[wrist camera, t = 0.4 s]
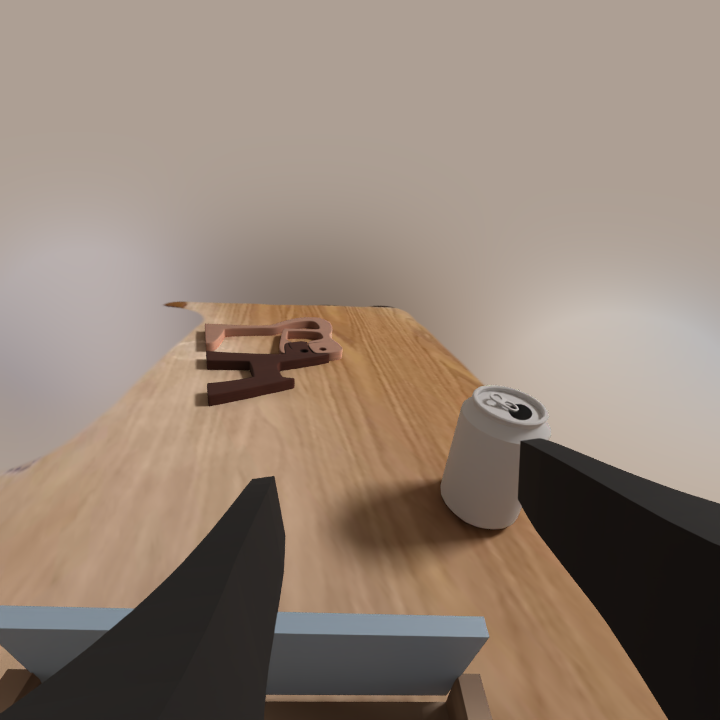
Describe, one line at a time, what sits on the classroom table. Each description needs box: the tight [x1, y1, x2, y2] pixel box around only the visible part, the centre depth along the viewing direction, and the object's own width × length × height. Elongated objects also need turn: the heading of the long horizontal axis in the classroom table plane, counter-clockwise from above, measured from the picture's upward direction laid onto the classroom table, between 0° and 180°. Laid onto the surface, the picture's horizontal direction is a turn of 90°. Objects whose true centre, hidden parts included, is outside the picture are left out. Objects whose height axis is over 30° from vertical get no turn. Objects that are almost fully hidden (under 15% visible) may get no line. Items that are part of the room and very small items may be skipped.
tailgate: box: [0, 606, 489, 695], centre depth 18 cm, size 1×21×8 cm, turn 91°
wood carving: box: [205, 317, 343, 406], centre depth 62 cm, size 28×2×24 cm
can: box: [440, 385, 551, 529], centre depth 33 cm, size 8×8×12 cm
